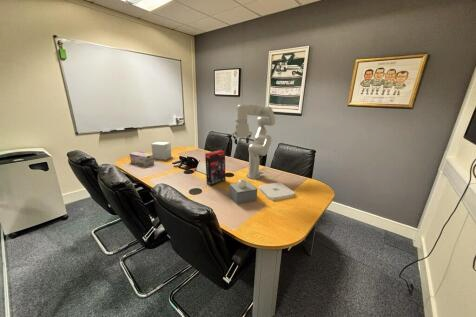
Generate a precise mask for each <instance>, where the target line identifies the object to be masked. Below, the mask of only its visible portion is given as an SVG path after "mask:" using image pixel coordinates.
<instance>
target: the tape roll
mask: <svg viewBox="0 0 476 317" xmlns="http://www.w3.org/2000/svg"><path fill="white" fill-rule="evenodd" d="M246 182H247V179H243V178H240V179H238V180H237V183H238V188H246Z"/></svg>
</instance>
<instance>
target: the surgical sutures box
mask: <svg viewBox="0 0 476 317" xmlns="http://www.w3.org/2000/svg"><path fill="white" fill-rule="evenodd" d="M129 158H130V159H129V160H130V163H131V164H135V165H138V166H140V165H141V167H144V168H146V166H147V167H150V166H153V165H155V160H154V159H153V155H152V153H146V152H143V151H135V152H129ZM152 164H153V165H152ZM149 165H150V166H149Z"/></svg>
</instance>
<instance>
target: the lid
mask: <svg viewBox="0 0 476 317" xmlns="http://www.w3.org/2000/svg"><path fill="white" fill-rule="evenodd" d="M229 184H230V185H231V186H232V187H233V189H234V190H235V191H236V192H237V193H240V192H246V191H252V190H257V191H258V188H257V187H256V186H254V184H252V183H251V182H250V181H246V188H238V182H235V183H229ZM230 185H229V186H230Z"/></svg>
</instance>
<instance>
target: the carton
mask: <svg viewBox="0 0 476 317" xmlns="http://www.w3.org/2000/svg"><path fill="white" fill-rule="evenodd" d="M228 196H229V197H230V198H231V199H232V201H233V202H234V203H235V204H236V205H239V204H240V205H241V204H245V203H249V202H252V201H253V202H254V201H257V200H258V199H257V198H258V189H257V190H252V191H246V192H240V193H237V192H236V191H235V190H234V189H233V187H232V186H231V185H228Z"/></svg>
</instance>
